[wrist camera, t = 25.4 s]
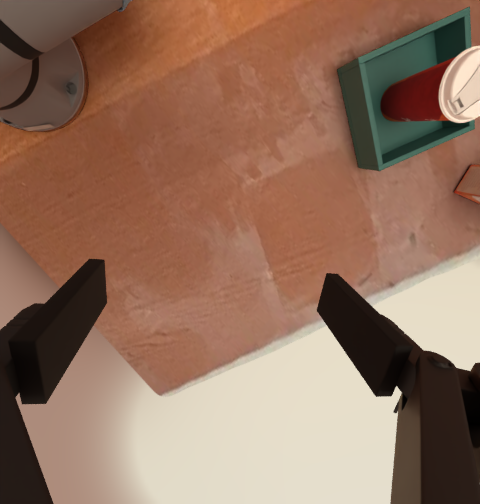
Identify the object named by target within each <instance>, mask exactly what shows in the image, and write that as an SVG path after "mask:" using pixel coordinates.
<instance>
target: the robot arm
mask: <svg viewBox="0 0 480 504" xmlns="http://www.w3.org/2000/svg"><path fill="white" fill-rule="evenodd" d="M131 1H133V0H0V121H1V122H3V123H5V124H7V125H10V126H12V127H15V128H18V129H22V130H27V131H38V132H47V131H54V130H57V129H60V128H63V127H65V126H67V125H68V124H70V123H71V122H72V121H73V120H74V119H75V118H76V117H77V116H78V115H79V113H80V112H81V110H82V108H83V106H84V104H85V101H86V98H87V93H88V74H87V69H86V64H85V61H84V58H83V55H82V53H81V51H80V49H79V47H78V45H77V43H76V41H75V39H74V38H73V36H74V35H76V34H78V33H79V32H81V31H83V30H84V29H86V28H88V27H89V26H91V25H93V24H94V23H96V22H98V21H99V20H101V19H103V18H104V17H106V16H108V15H109V14H111V13H113V12H114V11H116V10H117V11H119V12H121V11H123V10H125V8H126V7H127V5H128V3H130V2H131ZM106 304H107V295H106V278H105V261H104V260H101V259H89V260H88V261H87V262H86V263H85V264H84V265H83V266H82V267H81V268H80V269H79V270H78V271H77V272H76V273H75V274H74V275H73V276H72V277H71V278H70V279H69V280H68V281H67V282H66V283H65V284H64V285H63V286H62V287H61V288H60V289H59V290H58V291H57V292H56V293H55V294H54V295H53V296H52V297H51V298H50V299H49V300H48V301H47V302H46V303H45V304H37V303H36V304H33V305H31V306H30V307H27V308H25V309H23V310H22V311H21V312H19V313H18V314H17V315H16V316H15V317H14V319H13V320H11V321H10V322H9V323H7V325H6V326H4V327H3V328H2V329H1V330H0V504H53V501H52V498H51V496H50V493H49V490H48V487H47V485H46V482H45V479H44V477H43V473H42V471H41V468H40V466H39V463H38V460H37V457H36V454H35V451H34V448H33V446H32V443H31V440H30V437H29V435H28V432H27V429H26V427H25V423H24V421H23V418H22V415H21V412H20V409H19V407H18V404H17V401H16V399H15V397H16V396H17V395H18V393H20V397H21V401H22V404H46V403H47V401H48V399H49V398H50V396H51V395H52V393H53V391H54V390H55V388H56V386H57V385H58V383H59V381H60V380H61V378H62V376H63V374H64V373H65V371H66V370H67V368H68V366H69V365H70V363H71V361H72V360H73V358H74V356H75V355H76V353H77V352H78V350H79V348H80V347H81V345H82V343H83V342H84V340H85V338H86V337H87V335H88V333H89V332H90V330H91V328H92V327H93V325H94V323H95V322H96V320H97V318H98V317H99V315H100V314H101V312H102V310H103V309H104V307H105V305H106ZM317 312H318V313H319V315H320V316H321V317H322V319H323V320H324V322H325V323H326V325H327V326H328V328H329V329H330V330H331V332H332V333H333V335H334V336H335V338H336V339H337V341H338V342H339V344H340V345H341V346H342V348H343V349H344V351H345V352H346V354H347V355H348V357H349V358H350V360H351V361H352V362H353V364H354V365H355V367H356V368H357V370H358V371H359V372H360V374H361V376H362V377H363V378H364V380H365V381H366V383H367V384H368V386H369V387H370V389H371V390H372V392H373V393H374V394H375V396H376V397H377V396H392V394H393V392H394V389H395V387H396V386H398V388H399V389H400V391H401V392H402V394H401V396H400V399H399V401H398V403H397V405H396V407H395V410H394V413H397V411H398V420H397V421H398V422H397V432H396V444H395V457H394V469H393V480H392V492H391V504H480V483H479V482H480V363H475V365H474V366H473V368H472V370H471V371H467V370H463V369H458V368H456V367H455V366H454V364H453V363H451V361H449V360H448V359H447V358H445V357H443V356H441V355H439V354H437V353H434V352H431V351H423V350H422V349H421V348H420V347H419V346H418V345H417V344H416V343H415V342H414V341H413V340H412V339H411V338H410V337H409V336H407V335H406V334H404V332H403V331H402V330H401V329H399V328H398V326H397V325H396V324H395V323H394V322H392V321H391V320H390V319H388V318H386V317H385V316H383V315H380V314H379V313H378V312H377V311H376V310H375V309H374V308H373V307H372V306H371V305H370V304H369V303H368V302H367V301H366V300H365V299H363V298H362V297H361V296H360V295H359V294H358V293H357V292H356V291H355V290H354V289H353V288H352V287H351V286H350V285H349V284H348V283H347V282H346V281H345V280H344V279H343V278H342V277H340V276H339V275H338V274H331V273H327V274H326V277H325V281H324V285H323V289H322V292H321V296H320V300H319V304H318V307H317Z"/></svg>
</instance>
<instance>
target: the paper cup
mask: <svg viewBox="0 0 480 504" xmlns="http://www.w3.org/2000/svg"><path fill="white" fill-rule="evenodd" d="M380 107H381V112H382V115H383V116H384V117H385V118H386V119H387V120H389V121H395V122H408V121H449V120H450V121H452V122H455V123H465V122H469V121H471V120H474V119H475V118H477V117H479V116H480V46H474V47H471V48H468V49H466V50H465V51H463V52H462V53H460V54H459V55H458V56H457V57H454V58H452V59H450V60H447V61H445V62H442V63H440V64H438V65H435V66H433V67H430V68H428V69H426V70H423V71H421V72H419V73H416V74H414V75H412V76H409V77H407V78H405V79H402V80H400V81H398V82H396V83H394V84H392V85H391V86H389V87H388V88H387V89H386V91H385V92H384V94H383V96H382V99H381V104H380Z"/></svg>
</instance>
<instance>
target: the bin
mask: <svg viewBox="0 0 480 504" xmlns="http://www.w3.org/2000/svg"><path fill="white" fill-rule="evenodd" d="M468 48H471V24H470V7H468V8H465V9H463V10H461V11H459V12H457V13H454V14H452V15H450V16H448V17H446V18H444V19H441V20H439V21H437V22H435V23H433V24H431V25H428V26H426V27H424V28H422V29H420V30H417V31H415V32H413V33H411V34H409V35H407V36H404V37H402V38H400V39H398V40H396V41H394V42H391V43H389V44H387V45H385V46H383V47H380V48H378V49H376V50H374V51H372V52H370V53H367V54H365V55H363V56H361V57H359V58H357V59H355V60H353V61H351V62H350V63H348V64H346V65H344V66H343V67H341V68H339V69H337V71H338V76H339V81H340V85H341V90H342V94H343V99H344V103H345V108H346V112H347V117H348V122H349V126H350V131H351V135H352V140H353V144H354V149H355V153H356V158H357V162H358V167H359V168H362V169H369V170H376V171H381V170H383V169H385V168H387V167H390V166H392V165H394V164H396V163H399V162H401V161H403V160H405V159H408V158H410V157H412V156H415V155H417V154H419V153H421V152H424V151H426V150H428V149H430V148H433V147H435V146H437V145H439V144H442V143H444V142H446V141H448V140H451V139H453V138H455V137H457V136H460V135H462V134H464V133H466V132H469V131H471V130H473V129H475V124H474V123H475V121H474V120H471V121H469V122H465V123H455V122H452V121H450V120H449V121H408V122H395V121H389V120H387V119H386V118H385V117H384V116H383V115H382V112H381V107H380V104H381V99H382V96H383V94H384V92H385V91H386V89H387V88H388V87H389V86H391V85H392V84H394V83H396V82H398V81H400V80H402V79H405V78H407V77H409V76H412V75H414V74H416V73H419V72H421V71H423V70H426V69H428V68H430V67H433V66H435V65H438V64H440V63H442V62H445V61H447V60H450V59H452V58H454V57H457V56H458V55H459V54H460V53H462V52H463V51H465V50H466V49H468Z"/></svg>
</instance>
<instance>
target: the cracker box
mask: <svg viewBox="0 0 480 504" xmlns="http://www.w3.org/2000/svg"><path fill="white" fill-rule="evenodd" d="M454 193H456V194H459V195H461V196H463V197H465V198H468V199H470V200H472V201H474V202H477V203H479V204H480V165H471V166H470V167H469V169H468V171H467V172H466V174H465V175H464V177H463V178H462V180H461V182H460V183H459V185H458V186H457V188H456V190H455V191H454Z"/></svg>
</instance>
